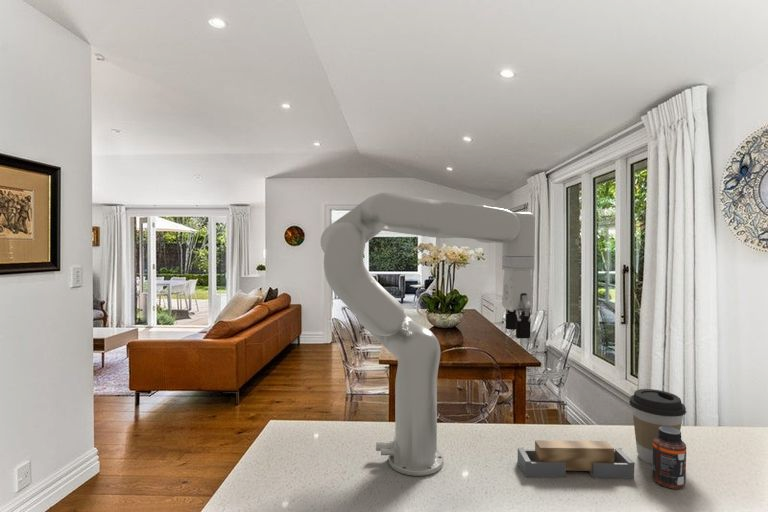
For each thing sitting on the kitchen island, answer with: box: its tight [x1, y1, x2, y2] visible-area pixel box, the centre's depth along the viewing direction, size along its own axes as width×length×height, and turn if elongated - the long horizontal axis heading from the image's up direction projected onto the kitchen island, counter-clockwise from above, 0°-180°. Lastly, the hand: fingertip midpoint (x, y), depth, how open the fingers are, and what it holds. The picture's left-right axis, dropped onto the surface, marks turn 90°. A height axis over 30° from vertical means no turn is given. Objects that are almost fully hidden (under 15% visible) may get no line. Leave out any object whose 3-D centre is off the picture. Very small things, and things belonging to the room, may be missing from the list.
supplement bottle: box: [651, 426, 687, 490], centre depth 93 cm, size 6×6×11 cm
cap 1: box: [517, 447, 567, 478], centre depth 99 cm, size 9×6×3 cm
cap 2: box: [588, 448, 636, 479], centre depth 98 cm, size 9×6×3 cm
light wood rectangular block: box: [534, 439, 615, 472], centre depth 99 cm, size 16×4×5 cm, turn 88°
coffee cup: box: [628, 388, 687, 465], centre depth 103 cm, size 11×11×15 cm
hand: (517, 333), depth 108 cm, fingers open, 9 cm apart
